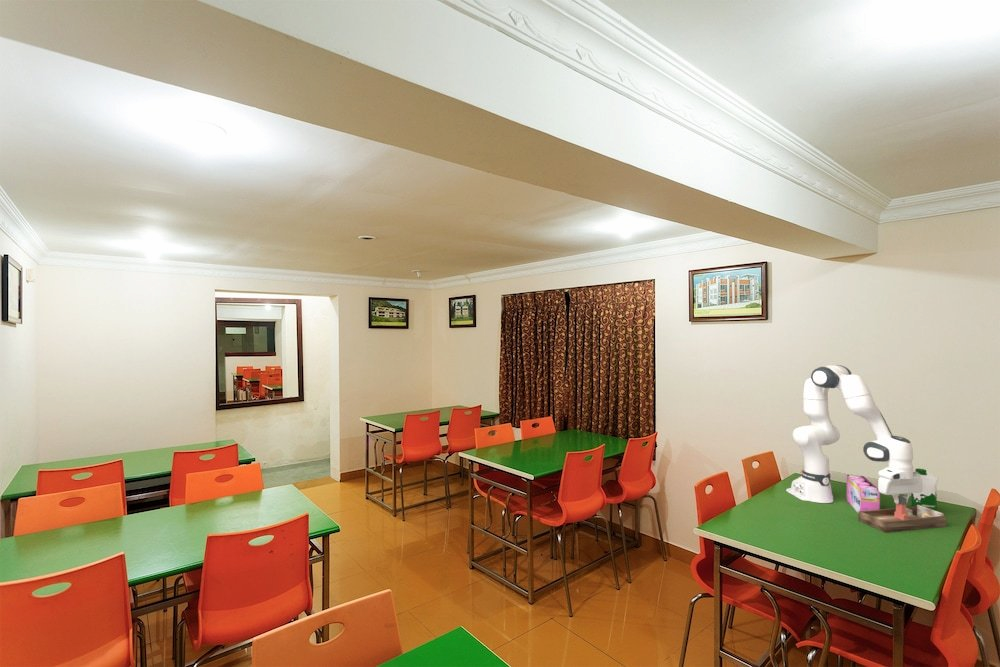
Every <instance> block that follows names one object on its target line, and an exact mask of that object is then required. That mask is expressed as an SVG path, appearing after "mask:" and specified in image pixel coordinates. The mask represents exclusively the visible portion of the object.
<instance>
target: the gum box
mask: <svg viewBox="0 0 1000 667" xmlns="http://www.w3.org/2000/svg"><path fill="white" fill-rule="evenodd" d="M846 501H847V502H848V503H849V504H850V505H851V507H852V508H853V509H854V510H855V511H856V512H857V513H858V511H869V510H880V509H881V493H880V492H879V490H878V486H876V485H875V484H873V483H872V482H871V481H870V480H869V479H868V478H866V477H865V476H863V475H859V476H856V475H849V474H846Z"/></svg>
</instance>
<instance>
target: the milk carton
mask: <svg viewBox="0 0 1000 667" xmlns="http://www.w3.org/2000/svg"><path fill="white" fill-rule="evenodd" d="M914 472H918V473H919V474H920V478H921V480H922V486H923V490H922V492H919V493H910V497H911V499H910V501H911V503H910V505H911V506H910V507H914V506H917V505H920V506H923V507H926V508H929V509H932V510H935V511H938V506H937V505H938V503H937V502H938V501H937V500H938V498H937V496H938V495H937V494H938V493H937V491H938V490H937V486H938V485H937V484H938V481H939V480H938V479H939V478H938V477H936V476H934V475H933V474H931V473H928V472H927V470H926V469H924V468H915V471H914Z"/></svg>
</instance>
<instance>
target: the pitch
mask: <svg viewBox="0 0 1000 667" xmlns="http://www.w3.org/2000/svg"><path fill="white" fill-rule="evenodd" d="M895 511H896V507H894V508H893V507H891V508H880V510H869V511H858V512H857V514H858V518H857V519H858V522H860V523H862V524H864V525H866V524H867V525H866V526H869V527H871V528H874V529H876V530H878V531H881V532H883V533H895V532H905V531H913V530H914V531H916V530H917V531H918V530H925V529H937V528H946V527H947V516H945V514H944V513H943V512H940V511H938V510H937V511H935V510H932V509H929V508H926V507H923V506H920V505H917V506H914V507H911V506H906V514H907V515H908V519H905V520H901V519H898V518H895V515H894V512H895ZM923 513H927V514H929V515H930V516H931V517H930V516H928V515H924V518H921V515H922V514H923Z"/></svg>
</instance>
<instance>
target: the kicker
mask: <svg viewBox="0 0 1000 667" xmlns="http://www.w3.org/2000/svg"><path fill="white" fill-rule="evenodd" d="M898 499H899V500H901V501H900V502H901V503H899V504H897V503H895V508H896V511H895V512H894V515H895V518H898V519H901V520H905V519H908V515H907V514H906V507H907V505H908V503H907V499H906V498H903V496H900V495H899V496H898Z"/></svg>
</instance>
